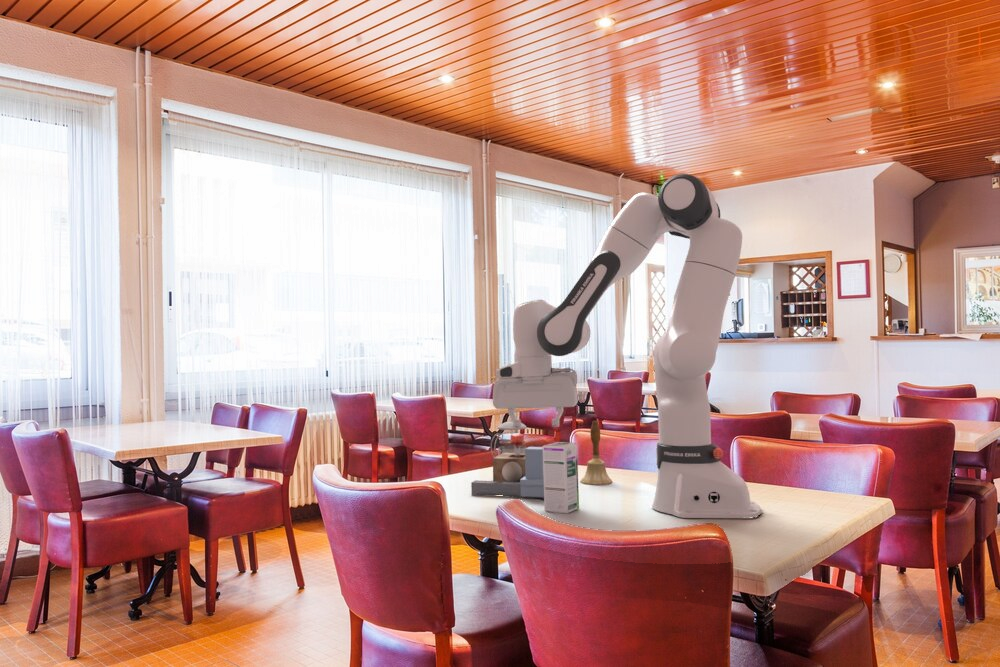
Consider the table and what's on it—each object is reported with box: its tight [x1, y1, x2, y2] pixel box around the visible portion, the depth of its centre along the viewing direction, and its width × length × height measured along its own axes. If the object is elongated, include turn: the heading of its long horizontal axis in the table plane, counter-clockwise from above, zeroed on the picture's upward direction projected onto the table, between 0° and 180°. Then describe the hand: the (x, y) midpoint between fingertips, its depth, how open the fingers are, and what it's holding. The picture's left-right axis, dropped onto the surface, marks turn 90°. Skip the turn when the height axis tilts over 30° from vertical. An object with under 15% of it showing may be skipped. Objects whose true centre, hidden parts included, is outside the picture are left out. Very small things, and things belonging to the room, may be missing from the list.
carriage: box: [520, 446, 544, 498], centre depth 178 cm, size 6×7×11 cm
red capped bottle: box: [510, 434, 525, 457], centre depth 190 cm, size 3×3×8 cm
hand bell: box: [580, 420, 613, 486], centre depth 196 cm, size 8×8×16 cm
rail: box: [470, 479, 544, 499], centre depth 180 cm, size 21×3×3 cm, turn 74°
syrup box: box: [542, 441, 580, 515], centre depth 163 cm, size 6×6×14 cm
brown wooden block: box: [492, 453, 525, 482], centre depth 190 cm, size 10×11×8 cm
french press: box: [490, 418, 527, 458], centre depth 205 cm, size 10×12×25 cm
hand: (536, 426), depth 178 cm, fingers open, 8 cm apart
